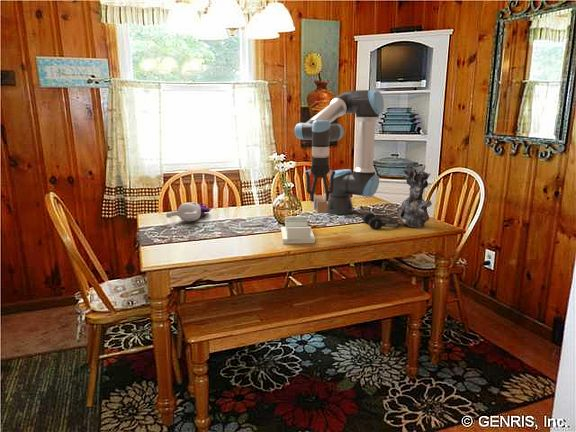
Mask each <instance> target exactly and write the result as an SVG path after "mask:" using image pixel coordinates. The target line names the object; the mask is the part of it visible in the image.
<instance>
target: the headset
mask: <svg viewBox="0 0 576 432" xmlns="http://www.w3.org/2000/svg"><path fill="white" fill-rule="evenodd" d="M359 206H360V207H359V208H360V209H361V210H362V211H363V212H364V214H363V215H362V218H361V219H362V221H363V222H364V223H365V224H367V225H368V226H369V227H370V228H371V229H373V230H379V229H381V228H383V227H385V228H390V229H391V228H398V227H399V223H400V220H399V219H398V218H394V217H389V216H385V215H381V216H380V215H375V214H374V213H372V212H366V211H365V210H364V208H363V206H362V205H359Z"/></svg>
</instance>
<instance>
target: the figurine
mask: <svg viewBox="0 0 576 432" xmlns="http://www.w3.org/2000/svg"><path fill="white" fill-rule="evenodd" d="M207 205H208V204H207V203H198V202H183V203H182V204H180V205H179V206H178V208H177V211H170V212H169V211H168V212H166V214H165V217H166V218H168V219H169V218H170V219H171V218H172V217H174V216H177V217H178V218H179V219H181V220H182V221H184V222H186V223H187V222H188V223H189V222H195V221H197V220H199V219H200V218H201V216H202V217H203V216H206V215H208V214H209V213H210V211H211V210H212V208H211V206H208V207H207Z"/></svg>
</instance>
